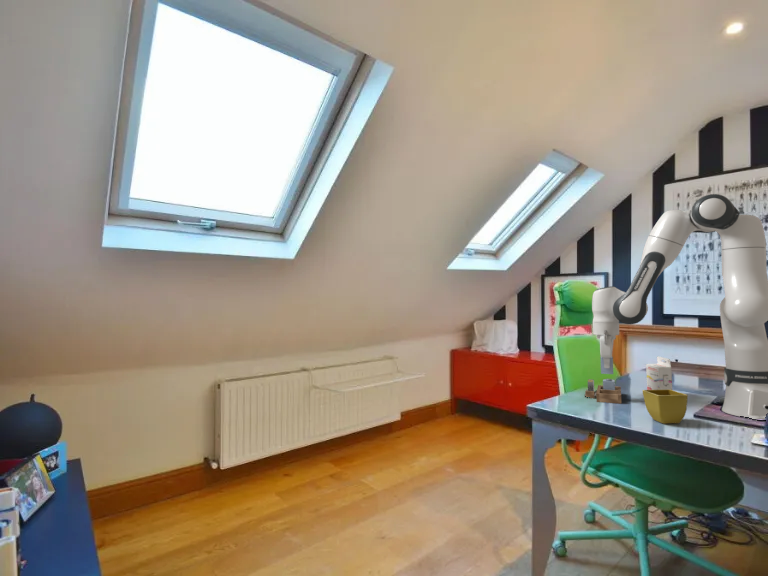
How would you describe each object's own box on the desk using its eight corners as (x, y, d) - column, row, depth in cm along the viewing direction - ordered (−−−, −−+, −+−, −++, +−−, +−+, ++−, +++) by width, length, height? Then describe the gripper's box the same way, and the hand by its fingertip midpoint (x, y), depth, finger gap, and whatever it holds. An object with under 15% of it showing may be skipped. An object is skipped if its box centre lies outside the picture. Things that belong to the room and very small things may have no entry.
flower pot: (642, 418, 134) (641, 389, 134) (671, 417, 134) (669, 388, 134) (660, 426, 125) (658, 395, 126) (690, 425, 125) (688, 394, 125)
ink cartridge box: (646, 393, 168) (644, 356, 168) (659, 393, 168) (657, 356, 168) (660, 398, 159) (658, 359, 160) (673, 398, 159) (671, 358, 160)
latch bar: (594, 391, 173) (593, 378, 173) (593, 394, 168) (593, 380, 168) (589, 391, 174) (588, 377, 174) (588, 394, 169) (587, 380, 169)
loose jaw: (613, 372, 160) (612, 355, 160) (613, 374, 156) (612, 356, 156) (601, 371, 162) (600, 354, 162) (601, 373, 158) (600, 356, 158)
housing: (621, 393, 168) (620, 386, 168) (621, 403, 153) (621, 395, 153) (586, 391, 174) (586, 384, 174) (583, 400, 159) (583, 392, 159)
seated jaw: (615, 395, 166) (614, 378, 167) (615, 397, 163) (614, 380, 163) (603, 394, 168) (603, 378, 168) (603, 396, 165) (602, 379, 165)
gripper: (615, 332, 149) (616, 371, 148) (615, 328, 167) (616, 363, 166) (595, 331, 152) (596, 370, 151) (597, 328, 170) (598, 362, 169)
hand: (607, 366), depth 159 cm, fingers closed on loose jaw, 4 cm apart
